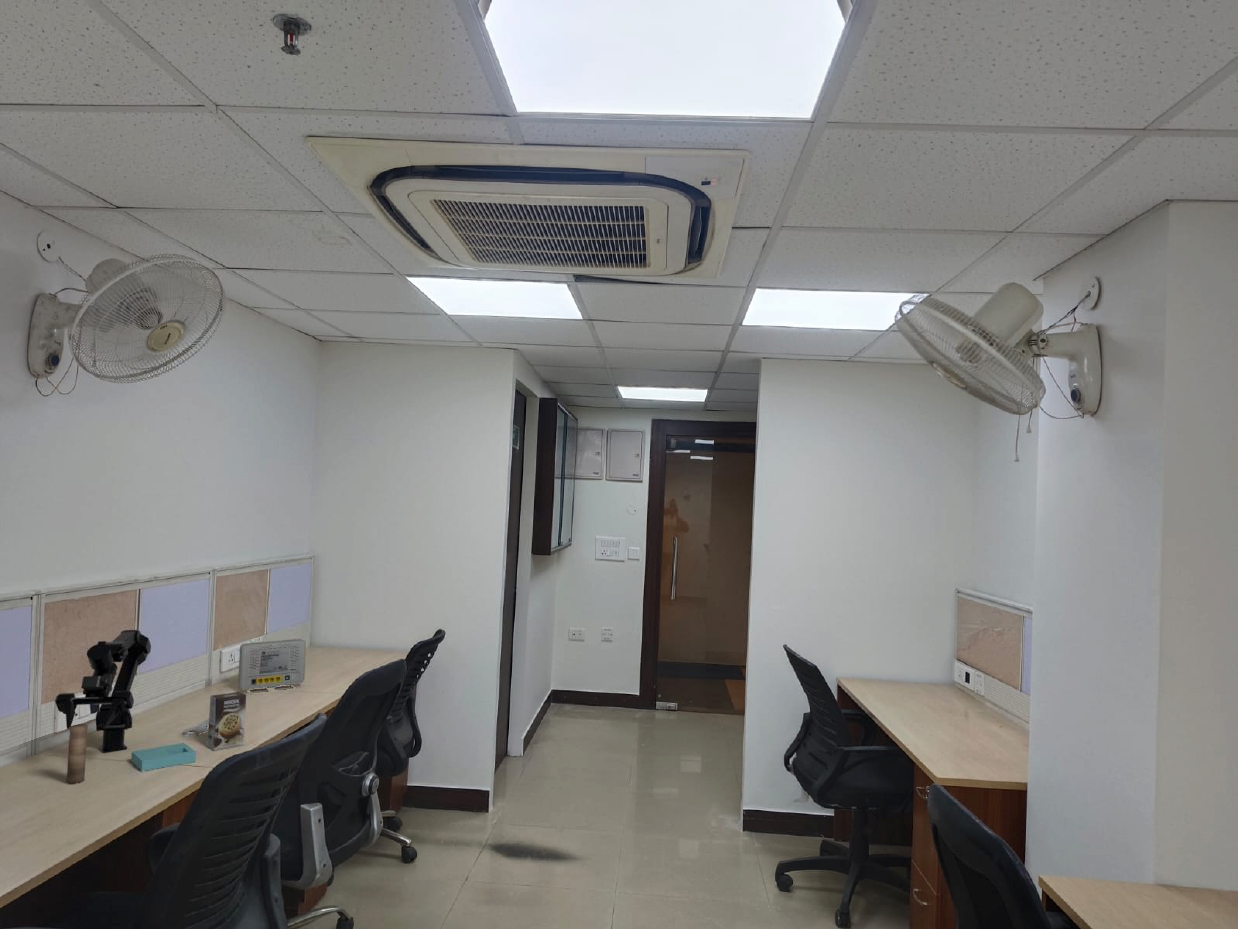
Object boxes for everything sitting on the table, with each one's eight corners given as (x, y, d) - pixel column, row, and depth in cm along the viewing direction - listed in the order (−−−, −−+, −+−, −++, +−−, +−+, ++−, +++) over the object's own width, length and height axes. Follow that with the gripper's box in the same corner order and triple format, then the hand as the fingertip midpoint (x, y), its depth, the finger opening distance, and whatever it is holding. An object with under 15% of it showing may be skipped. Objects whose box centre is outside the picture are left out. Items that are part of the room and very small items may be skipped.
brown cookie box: (214, 751, 246) (216, 698, 247) (206, 747, 250) (209, 695, 251) (244, 745, 252) (246, 694, 253) (236, 741, 257) (239, 691, 258)
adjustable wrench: (214, 718, 287) (215, 713, 287) (232, 718, 287) (233, 713, 288) (179, 736, 262) (180, 731, 262) (199, 737, 262) (200, 731, 263)
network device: (299, 684, 343) (301, 638, 344) (306, 688, 336) (308, 640, 337) (236, 692, 327) (238, 643, 328) (241, 696, 320) (244, 646, 321)
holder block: (131, 762, 234) (131, 751, 234) (183, 752, 244) (183, 742, 244) (141, 771, 225) (142, 761, 226) (195, 762, 235) (195, 751, 235)
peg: (65, 781, 216) (68, 725, 217) (82, 778, 219) (85, 723, 220) (68, 785, 213) (71, 728, 214) (85, 782, 216) (89, 726, 217)
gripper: (59, 665, 227) (41, 713, 215) (133, 662, 232) (119, 710, 221) (68, 687, 234) (50, 735, 222) (139, 684, 239) (126, 731, 228)
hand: (86, 727), depth 223 cm, fingers open, 9 cm apart
